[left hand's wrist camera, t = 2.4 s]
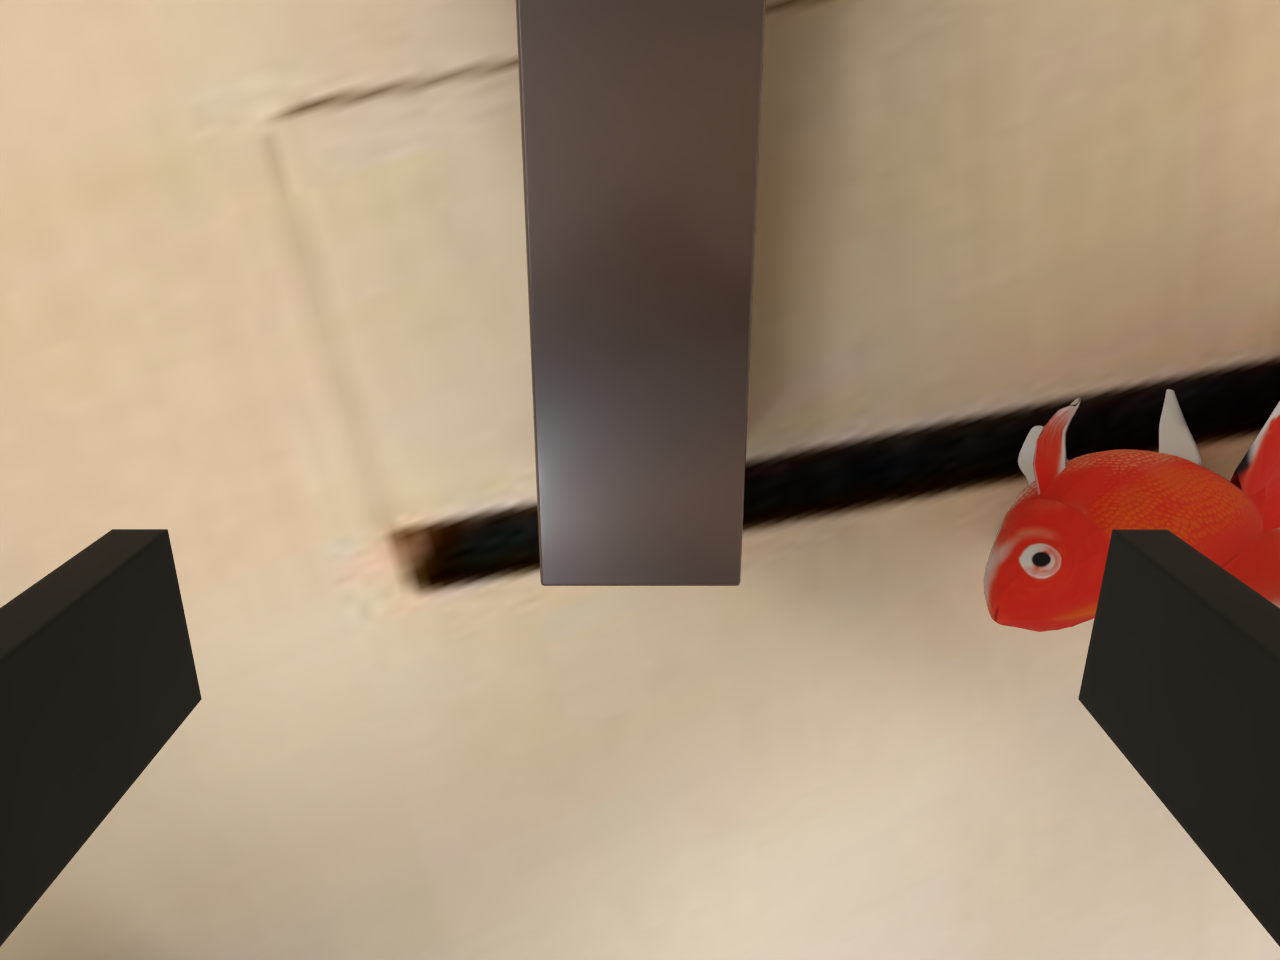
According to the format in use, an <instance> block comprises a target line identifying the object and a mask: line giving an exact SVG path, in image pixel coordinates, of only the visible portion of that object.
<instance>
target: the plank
mask: <svg viewBox="0 0 1280 960" xmlns="http://www.w3.org/2000/svg"><path fill="white" fill-rule="evenodd" d="M516 15H517V38H518V62H519V85H520V108H521V132H522V155H523V178H524V202H525V225H526V248H527V271H528V295H529V318H530V341H531V365H532V388H533V411H534V435H535V458H536V481H537V505H538V528H539V551H540V575H541V584H542V585H544V586H737V585H739V584H740V574H741V551H742V528H743V505H744V482H745V459H746V436H747V413H748V390H749V366H750V343H751V320H752V297H753V274H754V251H755V228H756V205H757V182H758V159H759V135H760V112H761V89H762V66H763V43H764V20H765V0H516Z"/></svg>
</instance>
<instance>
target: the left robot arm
mask: <svg viewBox="0 0 1280 960" xmlns="http://www.w3.org/2000/svg"><path fill="white" fill-rule="evenodd" d="M200 700H201V694H200V689H199V684H198V679H197V674H196V669H195V664H194V659H193V654H192V649H191V644H190V639H189V634H188V629H187V624H186V619H185V614H184V609H183V604H182V599H181V594H180V589H179V584H178V579H177V574H176V569H175V564H174V559H173V554H172V549H171V544H170V539H169V534H168V530H111V531H110V532H108V533H107V534H105V535H104V536H102V537H101V538H100V539H98V540H97V541H95V542H94V543H92V544H91V545H90V546H88V547H87V548H85V549H84V550H83V551H81V552H80V553H78V554H77V555H75V556H74V557H73V558H71V559H70V560H68V561H67V562H65V563H64V564H63V565H61V566H60V567H58V568H57V569H55V570H54V571H53V572H51V573H50V574H48V575H47V576H45V577H44V578H43V579H41V580H40V581H38V582H37V583H35V584H34V585H33V586H31V587H30V588H28V589H27V590H25V591H24V592H23V593H21V594H20V595H18V596H17V597H16V598H14V599H13V600H11V601H10V602H8V603H7V604H6V605H4V606H3V607H1V608H0V946H1V945H2V944H3V943H4V941H5V940H6V939H7V938H8V936H9V935H10V934H11V933H12V932H13V930H14V929H15V928H16V927H17V925H18V924H19V923H20V922H21V920H22V919H23V918H24V917H25V916H26V914H27V913H28V912H29V911H30V909H31V908H32V907H33V906H34V904H35V903H36V902H37V901H38V900H39V898H40V897H41V896H42V895H43V893H44V892H45V891H46V890H47V888H48V887H49V886H50V885H51V884H52V882H53V881H54V880H55V879H56V877H57V876H58V875H59V874H60V872H61V871H62V870H63V869H64V868H65V866H66V865H67V864H68V863H69V861H70V860H71V859H72V858H73V856H74V855H75V854H76V853H77V852H78V850H79V849H80V848H81V847H82V845H83V844H84V843H85V842H86V840H87V839H88V838H89V837H90V836H91V834H92V833H93V832H94V831H95V829H96V828H97V827H98V826H99V825H100V823H101V822H102V821H103V820H104V818H105V817H106V816H107V815H108V813H109V812H110V811H111V810H112V809H113V807H114V806H115V805H116V804H117V802H118V801H119V800H120V799H121V797H122V796H123V795H124V794H125V793H126V791H127V790H128V789H129V788H130V786H131V785H132V784H133V783H134V781H135V780H136V779H137V778H138V777H139V775H140V774H141V773H142V772H143V770H144V769H145V768H146V767H147V765H148V764H149V763H150V762H151V761H152V759H153V758H154V757H155V756H156V754H157V753H158V752H159V751H160V749H161V748H162V747H163V746H164V745H165V743H166V742H167V741H168V740H169V738H170V737H171V736H172V735H173V733H174V732H175V731H176V730H177V729H178V727H179V726H180V725H181V724H182V722H183V721H184V720H185V719H186V717H187V716H188V715H189V714H190V713H191V711H192V710H193V709H194V708H195V706H196V705H197V704H198V703H199V701H200ZM1079 700H1080V701H1081V703H1082V704H1083V705H1084V706H1085V708H1086V709H1087V710H1088V711H1089V713H1090V714H1091V715H1092V716H1093V717H1094V719H1095V720H1096V721H1097V722H1098V724H1099V725H1100V726H1101V727H1102V729H1103V730H1104V731H1105V732H1106V733H1107V735H1108V736H1109V737H1110V738H1111V740H1112V741H1113V742H1114V743H1115V745H1116V746H1117V747H1118V748H1119V749H1120V751H1121V752H1122V753H1123V754H1124V756H1125V757H1126V758H1127V759H1128V761H1129V762H1130V763H1131V764H1132V765H1133V767H1134V768H1135V769H1136V770H1137V772H1138V773H1139V774H1140V775H1141V777H1142V778H1143V779H1144V780H1145V781H1146V783H1147V784H1148V785H1149V786H1150V788H1151V789H1152V790H1153V791H1154V793H1155V794H1156V795H1157V796H1158V797H1159V799H1160V800H1161V801H1162V802H1163V804H1164V805H1165V806H1166V807H1167V809H1168V810H1169V811H1170V812H1171V813H1172V815H1173V816H1174V817H1175V818H1176V820H1177V821H1178V822H1179V823H1180V825H1181V826H1182V827H1183V828H1184V829H1185V831H1186V832H1187V833H1188V834H1189V836H1190V837H1191V838H1192V839H1193V841H1194V842H1195V843H1196V844H1197V845H1198V847H1199V848H1200V849H1201V850H1202V852H1203V853H1204V854H1205V855H1206V856H1207V858H1208V859H1209V860H1210V861H1211V863H1212V864H1213V865H1214V866H1215V868H1216V869H1217V870H1218V871H1219V872H1220V874H1221V875H1222V876H1223V877H1224V879H1225V880H1226V881H1227V882H1228V884H1229V885H1230V886H1231V887H1232V888H1233V890H1234V891H1235V892H1236V893H1237V895H1238V896H1239V897H1240V898H1241V900H1242V901H1243V902H1244V903H1245V904H1246V906H1247V907H1248V908H1249V909H1250V911H1251V912H1252V913H1253V914H1254V916H1255V917H1256V918H1257V919H1258V920H1259V922H1260V923H1261V924H1262V925H1263V927H1264V928H1265V929H1266V930H1267V932H1268V933H1269V934H1270V935H1271V936H1272V938H1273V939H1274V940H1275V941H1276V943H1277V944H1278V945H1279V946H1280V608H1279V607H1277V606H1276V605H1274V604H1273V603H1272V602H1270V601H1269V600H1267V599H1266V598H1264V597H1263V596H1262V595H1260V594H1259V593H1257V592H1256V591H1255V590H1253V589H1252V588H1250V587H1249V586H1247V585H1246V584H1245V583H1243V582H1242V581H1240V580H1239V579H1237V578H1236V577H1235V576H1233V575H1232V574H1230V573H1229V572H1227V571H1226V570H1225V569H1223V568H1222V567H1220V566H1219V565H1217V564H1216V563H1215V562H1213V561H1212V560H1210V559H1209V558H1207V557H1206V556H1205V555H1203V554H1202V553H1200V552H1199V551H1197V550H1196V549H1195V548H1193V547H1192V546H1190V545H1189V544H1188V543H1186V542H1185V541H1183V540H1182V539H1180V538H1179V537H1178V536H1176V535H1175V534H1173V533H1172V532H1170V531H1169V530H1112V534H1111V539H1110V544H1109V549H1108V554H1107V559H1106V564H1105V569H1104V574H1103V579H1102V584H1101V589H1100V594H1099V599H1098V604H1097V609H1096V614H1095V619H1094V624H1093V629H1092V634H1091V639H1090V644H1089V649H1088V654H1087V659H1086V664H1085V669H1084V674H1083V679H1082V684H1081V689H1080V694H1079Z"/></svg>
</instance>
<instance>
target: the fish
mask: <svg viewBox="0 0 1280 960" xmlns="http://www.w3.org/2000/svg"><path fill="white" fill-rule="evenodd" d="M1080 403H1081V398H1080V397H1079V398H1077V399H1076V400H1074V401H1073V402H1072V403H1071V404H1070V405H1069V406H1067V407H1064V408H1062V409H1059V410H1058V411H1057V412H1056V413H1055V414H1054V415H1053V416H1052V418H1051V419H1050V420H1049V422H1048V423H1047V424H1046V425H1045V426H1044V427H1043V426H1035V427H1033V428H1032V429H1031V430H1030V432H1029V434H1028V435H1027V438H1026V440H1025V442H1024V444H1023V446H1022V449H1021V451H1020V453H1019V458H1018V464H1019V467H1020V469H1021V471H1022V472H1023V474H1024V475H1025V476H1026V478H1027V481H1028V486H1027V487H1026V488H1025V489H1024V490H1023V491H1022V492H1021V494H1020V495H1019V496H1018V498H1017V499H1016V500H1015V502H1014V503H1013V505H1012V507H1011V508H1010V510H1009V511H1008V512H1007V514H1006V516H1005V518H1004V520H1003V522H1002V524H1001V527H1000V529H999V531H998V534H997V536H996V539H995V542H994V544H993V547H992V549H991V553H990V556H989V559H988V562H987V565H986V570H985V576H984V593H985V598H986V602H987V606H988V610H989V613H990V615H991V617H992V619H993V620H994V621H996V622H997V623H998V624H1001V625H1006V626H1013V627H1018V628H1023V629H1028V630H1033V631H1038V632H1041V631H1049V630H1059V629H1063V628H1067V627H1072V626H1075V625H1077V624H1080V623H1082V622H1085V621H1088V620H1091V619H1093V618H1095V614H1096V609H1097V604H1098V599H1099V594H1100V589H1101V584H1102V579H1103V574H1104V569H1105V564H1106V559H1107V554H1108V549H1109V544H1110V539H1111V534H1112V530H1169V531H1170V532H1172V533H1173V534H1175V535H1176V536H1178V537H1179V538H1180V539H1182V540H1183V541H1185V542H1186V543H1188V544H1189V545H1190V546H1192V547H1193V548H1195V549H1196V550H1197V551H1199V552H1200V553H1202V554H1203V555H1205V556H1206V557H1207V558H1209V559H1210V560H1212V561H1213V562H1215V563H1216V564H1217V565H1219V566H1220V567H1222V568H1223V569H1225V570H1226V571H1227V572H1229V573H1230V574H1232V575H1233V576H1235V577H1236V578H1237V579H1239V580H1240V581H1242V582H1243V583H1245V584H1246V585H1247V586H1249V587H1250V588H1252V589H1253V590H1255V591H1256V592H1257V593H1259V594H1260V595H1262V596H1263V597H1264V598H1266V599H1267V600H1269V601H1270V602H1272V603H1273V604H1274V605H1276V606H1277V607H1279V608H1280V401H1279V403H1278V405H1277V406H1276V408H1275V409H1274V411H1273V412H1272V414H1271V416H1270V417H1269V419H1268V420H1267V422H1266V423H1265V425H1264V427H1263V428H1262V430H1261V431H1260V433H1259V435H1258V436H1257V438H1256V439H1255V441H1254V442H1253V444H1252V445H1251V447H1250V448H1249V450H1248V452H1247V453H1246V455H1245V456H1244V458H1243V459H1242V461H1241V463H1240V464H1239V466H1238V467H1237V469H1236V470H1235V472H1234V474H1233V477H1232V479H1231V481H1228V480H1227V479H1225V478H1223V477H1221V476H1219V475H1218V474H1216V473H1214V472H1212V471H1210V470H1208V469H1206V468H1204V467H1202V459H1201V456H1200V453H1199V450H1198V447H1197V445H1196V443H1195V441H1194V439H1193V437H1192V435H1191V433H1190V431H1189V428H1188V426H1187V424H1186V422H1185V419H1184V417H1183V414H1182V412H1181V409H1180V406H1179V404H1178V401H1177V398H1176V395H1175V393H1174V391H1173V390H1170V389H1167V391H1166V396H1165V401H1164V406H1163V410H1162V414H1161V419H1160V426H1159V453H1158V452H1152V451H1144V450H1130V449H1120V450H1109V451H1103V452H1096V453H1091V454H1086V455H1082V456H1079V457H1076V458H1074V459H1071V460H1068V459H1067V449H1066V433H1067V430H1068V427H1069V424H1070V422H1071V420H1072V418H1073V417H1074V415H1075V413H1076V411H1077V409H1078V408H1079V405H1080Z"/></svg>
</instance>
